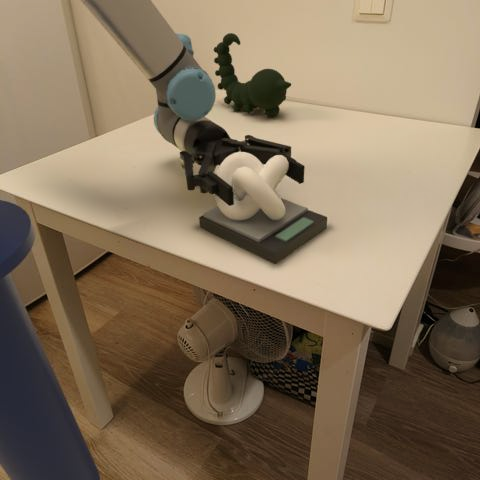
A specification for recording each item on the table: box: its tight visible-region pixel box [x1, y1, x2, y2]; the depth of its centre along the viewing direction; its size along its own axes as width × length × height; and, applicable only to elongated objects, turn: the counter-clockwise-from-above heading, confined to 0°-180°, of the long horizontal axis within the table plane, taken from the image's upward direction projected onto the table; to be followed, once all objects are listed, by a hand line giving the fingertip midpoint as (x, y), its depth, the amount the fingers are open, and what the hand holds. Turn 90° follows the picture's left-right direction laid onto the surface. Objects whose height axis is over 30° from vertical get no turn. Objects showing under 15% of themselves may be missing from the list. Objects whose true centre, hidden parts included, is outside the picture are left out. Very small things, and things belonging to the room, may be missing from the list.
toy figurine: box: [213, 32, 292, 119], centre depth 114 cm, size 9×19×25 cm
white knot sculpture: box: [214, 152, 289, 220], centre depth 70 cm, size 11×12×9 cm
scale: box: [198, 195, 328, 265], centre depth 72 cm, size 16×13×3 cm
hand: (268, 185), depth 66 cm, fingers closed on white knot sculpture, 12 cm apart
